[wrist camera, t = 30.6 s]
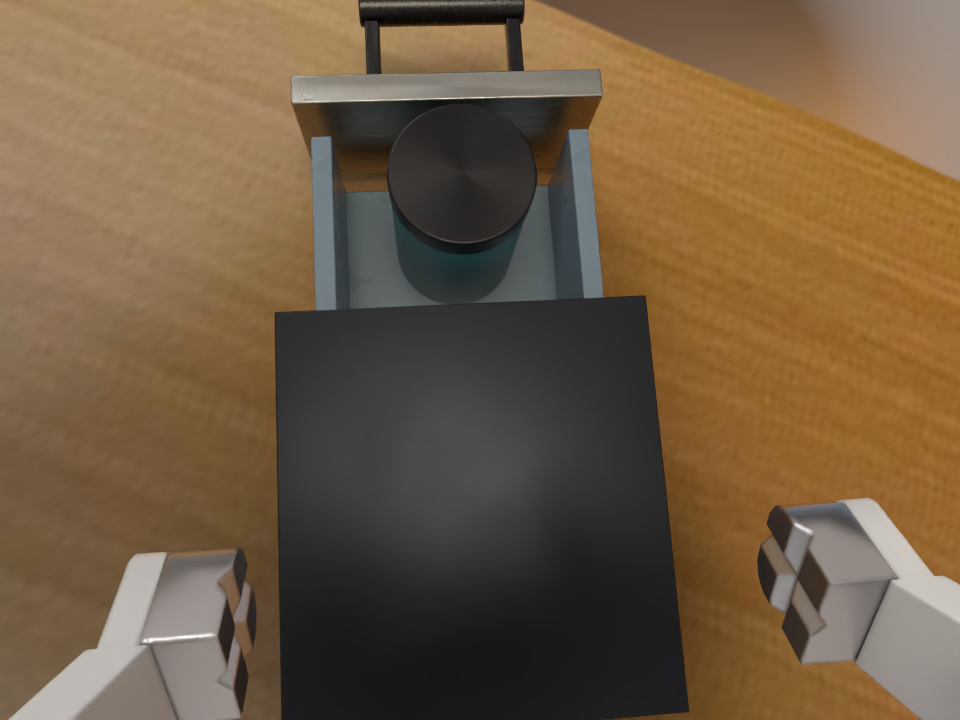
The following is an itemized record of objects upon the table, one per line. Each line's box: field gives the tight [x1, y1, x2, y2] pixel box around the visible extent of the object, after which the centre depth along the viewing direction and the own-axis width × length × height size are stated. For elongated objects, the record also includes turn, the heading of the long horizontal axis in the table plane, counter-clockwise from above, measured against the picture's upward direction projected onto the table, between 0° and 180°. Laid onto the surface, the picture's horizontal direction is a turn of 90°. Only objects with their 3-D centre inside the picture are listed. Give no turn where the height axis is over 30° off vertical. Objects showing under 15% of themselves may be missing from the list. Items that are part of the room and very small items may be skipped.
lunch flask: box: [387, 104, 537, 304], centre depth 31 cm, size 5×5×8 cm
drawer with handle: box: [291, 0, 604, 310], centre depth 33 cm, size 18×12×7 cm
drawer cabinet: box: [275, 296, 689, 720], centre depth 31 cm, size 15×14×9 cm
